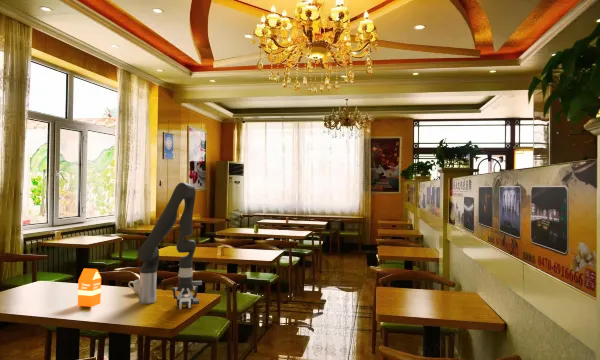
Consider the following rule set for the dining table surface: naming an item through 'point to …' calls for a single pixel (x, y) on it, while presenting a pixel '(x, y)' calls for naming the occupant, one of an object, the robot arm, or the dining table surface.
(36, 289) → the dining table surface
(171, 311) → the dining table surface
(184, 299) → the white rounded block
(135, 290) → the teacup
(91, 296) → the orange juice
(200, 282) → the stand
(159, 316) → the dining table surface
